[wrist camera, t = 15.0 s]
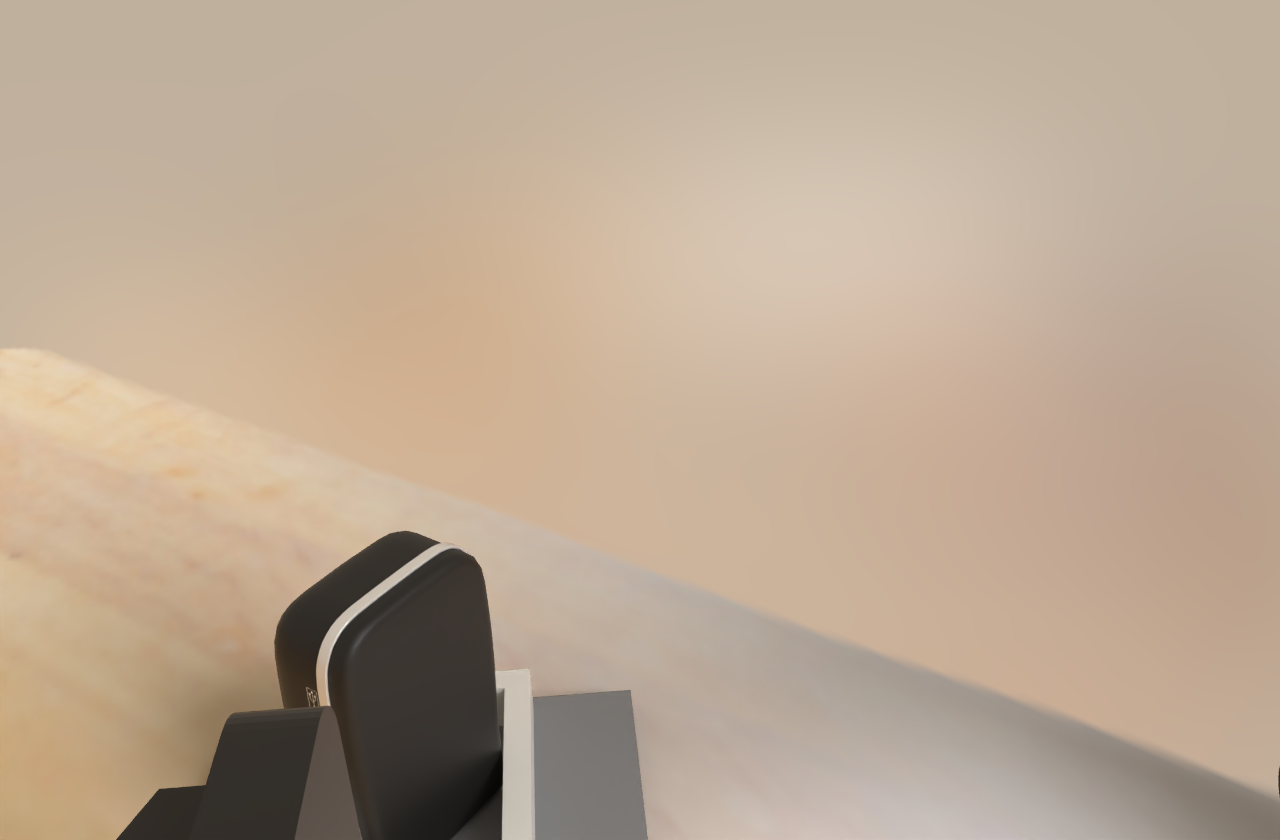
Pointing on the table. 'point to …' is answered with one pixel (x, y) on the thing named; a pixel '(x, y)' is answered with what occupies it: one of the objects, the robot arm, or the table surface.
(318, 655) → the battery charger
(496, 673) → the charging dock
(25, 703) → the table surface
